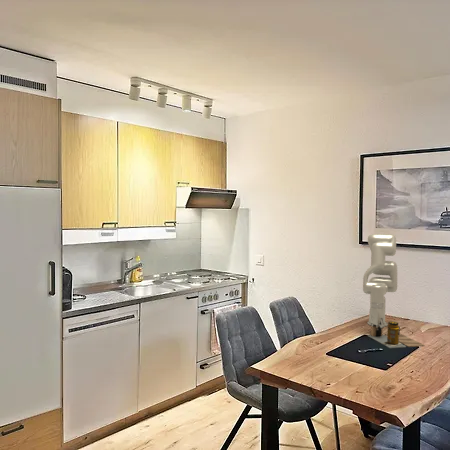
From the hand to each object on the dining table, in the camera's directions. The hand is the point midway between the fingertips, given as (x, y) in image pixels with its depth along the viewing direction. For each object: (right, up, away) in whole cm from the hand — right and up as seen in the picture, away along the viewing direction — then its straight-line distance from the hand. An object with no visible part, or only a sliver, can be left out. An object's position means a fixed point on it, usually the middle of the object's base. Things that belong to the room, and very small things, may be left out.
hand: (376, 335), depth 267 cm
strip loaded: (+2, -1, -10) cm, 10 cm away
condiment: (+3, -1, -16) cm, 16 cm away
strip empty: (+13, -1, -8) cm, 15 cm away
